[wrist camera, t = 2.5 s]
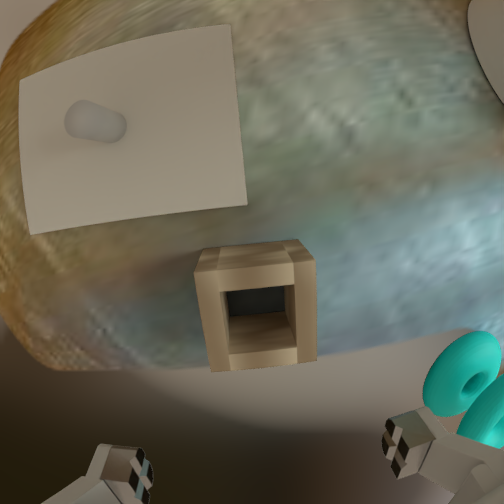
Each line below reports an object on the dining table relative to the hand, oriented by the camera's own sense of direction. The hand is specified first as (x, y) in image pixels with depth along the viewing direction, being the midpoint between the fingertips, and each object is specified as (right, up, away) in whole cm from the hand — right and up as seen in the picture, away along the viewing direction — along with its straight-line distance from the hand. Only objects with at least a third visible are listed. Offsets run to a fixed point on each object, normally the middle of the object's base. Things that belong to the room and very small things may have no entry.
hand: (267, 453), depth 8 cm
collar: (0, +4, +13) cm, 14 cm away
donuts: (+21, -6, +17) cm, 28 cm away
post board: (-9, +15, +10) cm, 20 cm away
